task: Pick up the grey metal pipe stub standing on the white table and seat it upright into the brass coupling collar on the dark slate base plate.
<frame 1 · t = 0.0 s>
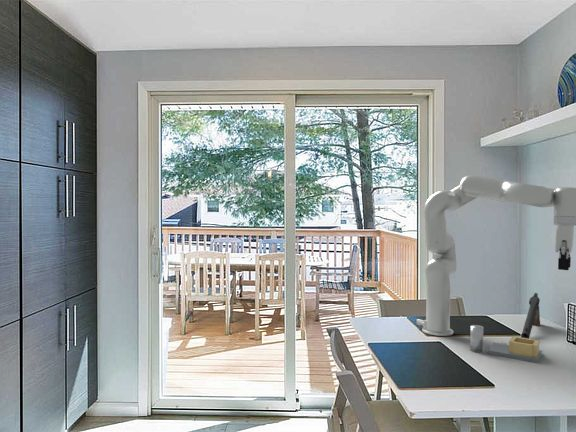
hand: (564, 268, 162), 31 cm above the table, tool pointing down, fingers open, 9 cm apart
pipe stub: (476, 350, 165), on the table
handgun: (531, 332, 192), on the table
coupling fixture: (514, 353, 162), on the table
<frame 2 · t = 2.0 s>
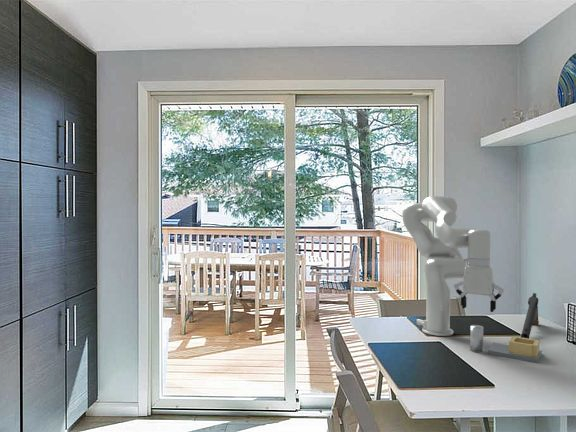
hand: (478, 309, 164), 15 cm above the table, tool pointing down, fingers open, 9 cm apart
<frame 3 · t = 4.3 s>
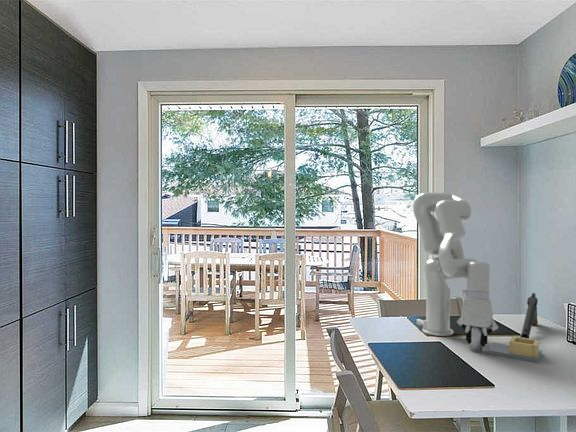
hand: (476, 343, 165), 3 cm above the table, tool pointing down, fingers closed on pipe stub, 4 cm apart
pipe stub: (476, 350, 165), on the table, touching gripper
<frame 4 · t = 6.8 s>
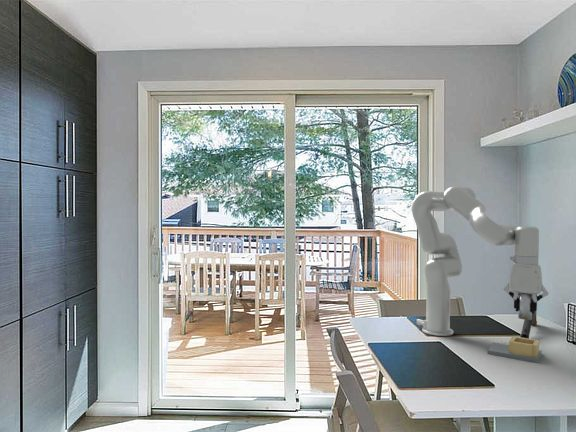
hand: (525, 311, 160), 16 cm above the table, tool pointing down, fingers closed on pipe stub, 4 cm apart
pipe stub: (525, 318, 160), point 13 cm above the table, touching gripper
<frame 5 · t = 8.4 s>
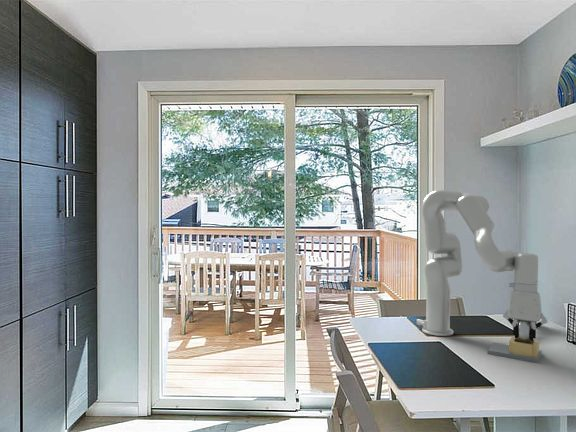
hand: (524, 338, 160), 6 cm above the table, tool pointing down, fingers closed on pipe stub, 4 cm apart
pipe stub: (524, 345, 160), point 4 cm above the table, touching gripper
when the fingers open (6 cm above the table, at t = 9.5 s): pipe stub drops 2 cm, resting on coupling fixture.
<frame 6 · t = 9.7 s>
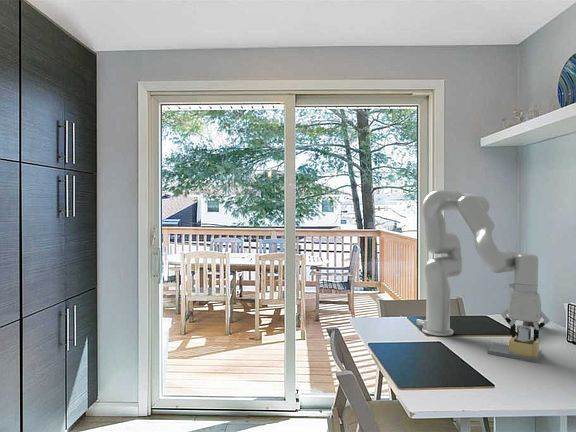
hand: (524, 337, 160), 6 cm above the table, tool pointing down, fingers open, 6 cm apart
pipe stub: (523, 351, 160), point 1 cm above the table, touching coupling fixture
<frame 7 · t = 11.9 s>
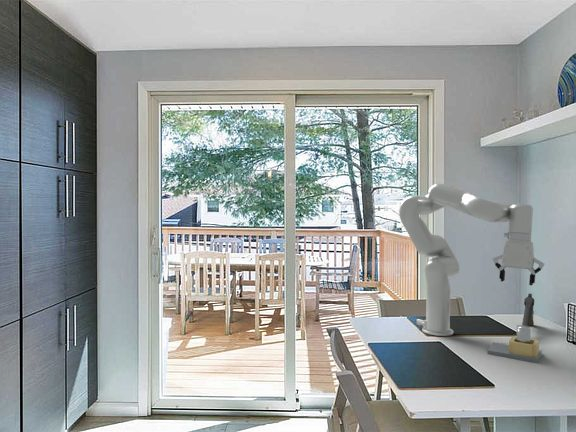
hand: (516, 282, 167), 25 cm above the table, tool pointing down, fingers open, 9 cm apart
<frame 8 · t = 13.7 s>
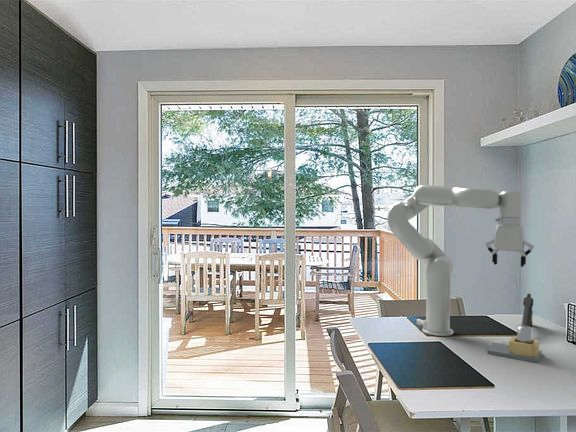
hand: (508, 265, 177), 30 cm above the table, tool pointing down, fingers open, 9 cm apart
at the end: pipe stub 0.2 cm from the target spot on the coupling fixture, point 1.3 cm above the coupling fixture's base; pipe stub tilted 2°; the gripper is holding nothing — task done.
